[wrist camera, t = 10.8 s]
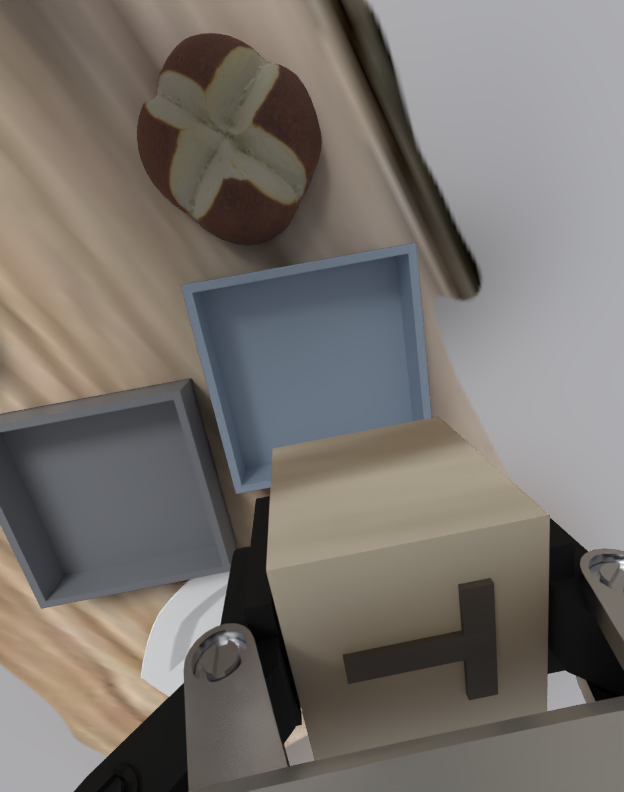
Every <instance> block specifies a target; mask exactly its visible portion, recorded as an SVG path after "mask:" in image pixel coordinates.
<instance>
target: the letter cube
mask: <svg viewBox="0 0 624 792" xmlns="http://www.w3.org/2000/svg"><path fill="white" fill-rule="evenodd" d="M549 533H550V515H549V514H548V513H547V512H546V511H545V510H544V509H543V508H541V507H540V506H539V505H538V504H537V503H536V502H535V501H534V500H532V499H531V498H530V497H529V496H528V495H527V494H526V493H524V492H523V491H522V490H521V489H520V488H519V487H518V486H516V485H515V484H514V483H513V482H512V481H511V480H510V479H509V478H507V477H506V476H505V475H504V474H503V473H502V472H501V471H499V470H498V469H497V468H496V467H495V466H494V465H493V464H491V463H490V462H489V461H488V460H487V459H486V458H485V457H484V456H482V455H481V454H480V453H479V452H478V451H477V450H476V449H474V448H473V447H472V446H471V445H470V444H469V443H468V442H466V441H465V440H464V439H463V438H462V437H461V436H460V435H459V434H457V433H456V432H455V431H454V430H453V429H452V428H451V427H449V426H448V425H447V424H446V423H445V422H444V421H443V420H441V419H440V418H439V417H434V418H429V419H424V420H418V421H413V422H408V423H403V424H398V425H392V426H387V427H382V428H377V429H371V430H366V431H361V432H356V433H351V434H345V435H340V436H335V437H330V438H325V439H319V440H314V441H309V442H304V443H298V444H293V445H288V446H283V447H278V448H273V450H272V469H271V488H270V507H269V526H268V544H267V563H266V573H267V577H268V580H269V584H270V588H271V592H272V596H273V600H274V604H275V608H276V612H277V615H278V619H279V623H280V627H281V631H282V635H283V639H284V643H285V647H286V650H287V654H288V658H289V662H290V666H291V670H292V674H293V678H294V682H295V685H296V689H297V693H298V697H299V701H300V705H301V709H302V713H303V717H304V720H305V724H306V728H307V732H308V736H309V740H310V744H311V748H312V751H313V755H314V759H315V761H316V760H321V759H325V758H330V757H335V756H339V755H344V754H349V753H353V752H358V751H363V750H367V749H372V748H376V747H381V746H386V745H390V744H395V743H400V742H404V741H409V740H414V739H418V738H423V737H428V736H432V735H437V734H442V733H447V732H451V731H456V730H461V729H466V728H470V727H475V726H480V725H485V724H490V723H494V722H499V721H504V720H509V719H514V718H518V717H523V716H528V715H533V714H538V713H542V712H547V670H548V602H549Z"/></svg>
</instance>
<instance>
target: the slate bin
mask: <svg viewBox="0 0 624 792" xmlns="http://www.w3.org/2000/svg"><path fill="white" fill-rule="evenodd" d="M181 288H182V292H183V296H184V300H185V303H186V307H187V311H188V315H189V318H190V322H191V326H192V330H193V334H194V337H195V341H196V345H197V349H198V352H199V356H200V360H201V364H202V368H203V371H204V375H205V379H206V383H207V386H208V390H209V394H210V398H211V402H212V405H213V409H214V413H215V417H216V420H217V424H218V428H219V432H220V436H221V439H222V443H223V447H224V451H225V454H226V458H227V462H228V466H229V470H230V473H231V477H232V481H233V485H234V488H235V492H236V494H239V493H244V492H249V491H254V490H260V489H265V488H270V487H271V469H272V450H273V448H278V447H283V446H288V445H293V444H298V443H304V442H309V441H314V440H319V439H325V438H330V437H335V436H340V435H345V434H351V433H356V432H361V431H366V430H371V429H377V428H382V427H387V426H392V425H398V424H403V423H408V422H413V421H418V420H424V419H429V418H432V417H431V406H430V394H429V383H428V371H427V360H426V349H425V337H424V326H423V314H422V303H421V292H420V280H419V269H418V257H417V246H416V243H411V244H405V245H400V246H394V247H389V248H383V249H378V250H372V251H367V252H361V253H356V254H350V255H345V256H339V257H334V258H328V259H323V260H317V261H312V262H306V263H301V264H295V265H290V266H284V267H279V268H273V269H268V270H262V271H257V272H251V273H246V274H240V275H235V276H229V277H224V278H218V279H213V280H207V281H202V282H196V283H191V284H185V285H181Z"/></svg>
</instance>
